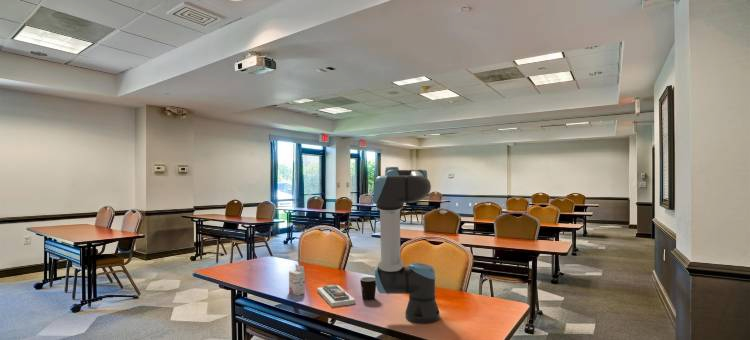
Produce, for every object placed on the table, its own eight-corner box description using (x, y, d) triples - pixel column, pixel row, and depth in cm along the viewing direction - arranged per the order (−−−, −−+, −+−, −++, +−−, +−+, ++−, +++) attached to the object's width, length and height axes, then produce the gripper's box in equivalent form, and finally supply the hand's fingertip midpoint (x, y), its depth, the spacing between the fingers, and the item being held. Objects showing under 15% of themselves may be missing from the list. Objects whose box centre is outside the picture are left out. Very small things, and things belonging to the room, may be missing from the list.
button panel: (355, 303, 189) (355, 296, 189) (331, 307, 185) (331, 300, 185) (338, 288, 215) (338, 282, 215) (317, 291, 210) (317, 285, 211)
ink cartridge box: (288, 292, 209) (288, 265, 209) (296, 290, 213) (295, 264, 213) (297, 295, 203) (297, 268, 204) (305, 293, 207) (305, 266, 207)
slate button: (341, 293, 199) (341, 290, 199) (332, 295, 197) (332, 291, 197) (338, 291, 203) (338, 288, 203) (329, 292, 201) (329, 289, 201)
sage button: (336, 289, 206) (336, 286, 206) (327, 290, 204) (327, 287, 204) (334, 287, 211) (334, 284, 211) (325, 288, 209) (325, 285, 209)
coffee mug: (375, 301, 192) (374, 281, 192) (358, 300, 194) (358, 280, 194) (379, 294, 204) (379, 275, 204) (363, 293, 205) (363, 275, 206)
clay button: (346, 295, 191) (346, 292, 191) (336, 296, 189) (336, 293, 189) (343, 292, 196) (343, 289, 196) (333, 294, 194) (333, 290, 194)
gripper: (399, 194, 216) (400, 236, 215) (378, 194, 211) (379, 237, 210) (406, 194, 209) (406, 237, 208) (384, 195, 204) (384, 239, 203)
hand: (392, 237), depth 209 cm, fingers closed
